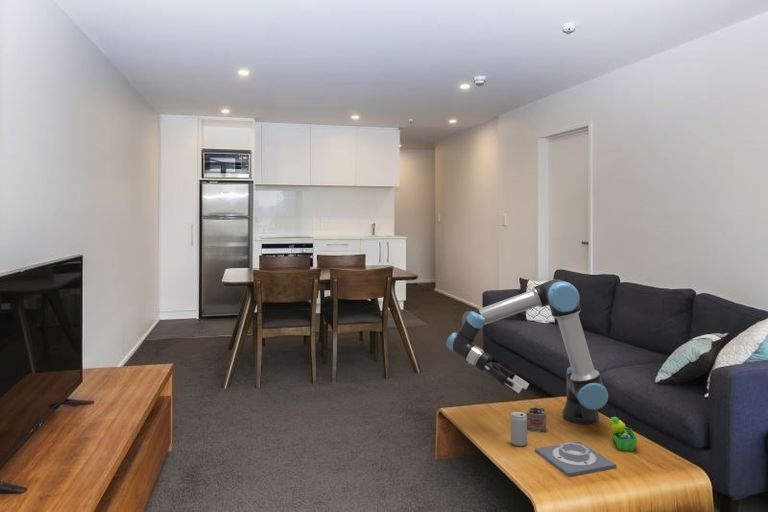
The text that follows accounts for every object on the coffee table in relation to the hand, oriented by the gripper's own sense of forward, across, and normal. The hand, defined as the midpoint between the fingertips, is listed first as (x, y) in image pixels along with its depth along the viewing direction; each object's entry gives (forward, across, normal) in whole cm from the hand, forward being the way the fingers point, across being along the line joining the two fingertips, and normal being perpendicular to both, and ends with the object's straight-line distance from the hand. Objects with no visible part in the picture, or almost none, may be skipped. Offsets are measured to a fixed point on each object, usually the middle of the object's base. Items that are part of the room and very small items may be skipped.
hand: (524, 388), depth 194 cm
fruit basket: (+40, -15, 0) cm, 43 cm away
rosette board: (+28, +5, -11) cm, 30 cm away
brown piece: (+11, -16, -15) cm, 25 cm away
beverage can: (+9, 0, -20) cm, 22 cm away
